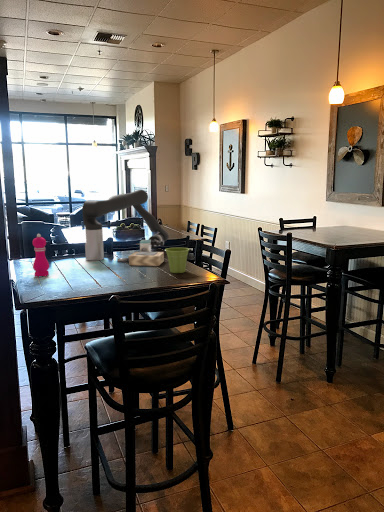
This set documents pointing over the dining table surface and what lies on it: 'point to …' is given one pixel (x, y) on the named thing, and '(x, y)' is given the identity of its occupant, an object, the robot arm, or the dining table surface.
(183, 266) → the plant pot
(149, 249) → the housing
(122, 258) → the bolt
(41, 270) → the pepper mill
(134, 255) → the beige chevron box
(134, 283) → the dining table surface
